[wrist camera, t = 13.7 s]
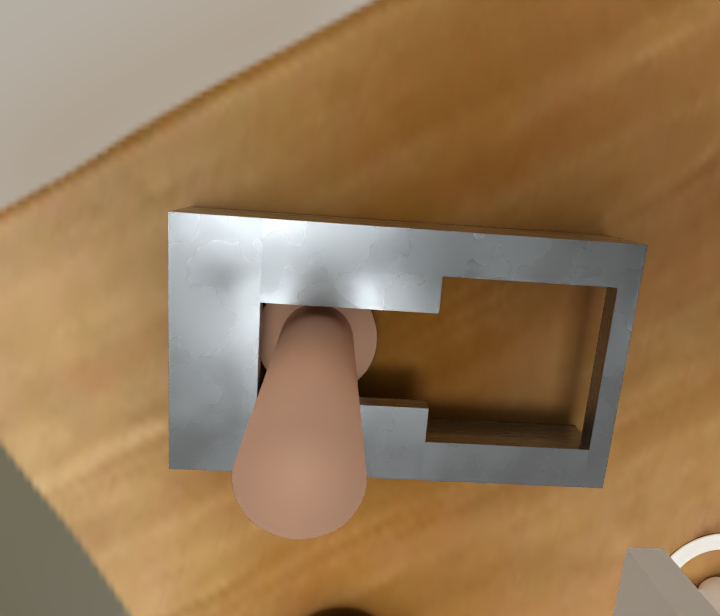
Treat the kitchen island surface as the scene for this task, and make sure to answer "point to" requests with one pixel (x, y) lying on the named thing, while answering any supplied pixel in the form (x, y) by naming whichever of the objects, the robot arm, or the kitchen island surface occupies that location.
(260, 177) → the kitchen island surface
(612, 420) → the keyhole plate
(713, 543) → the teacup and saucer
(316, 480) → the terracotta peg
